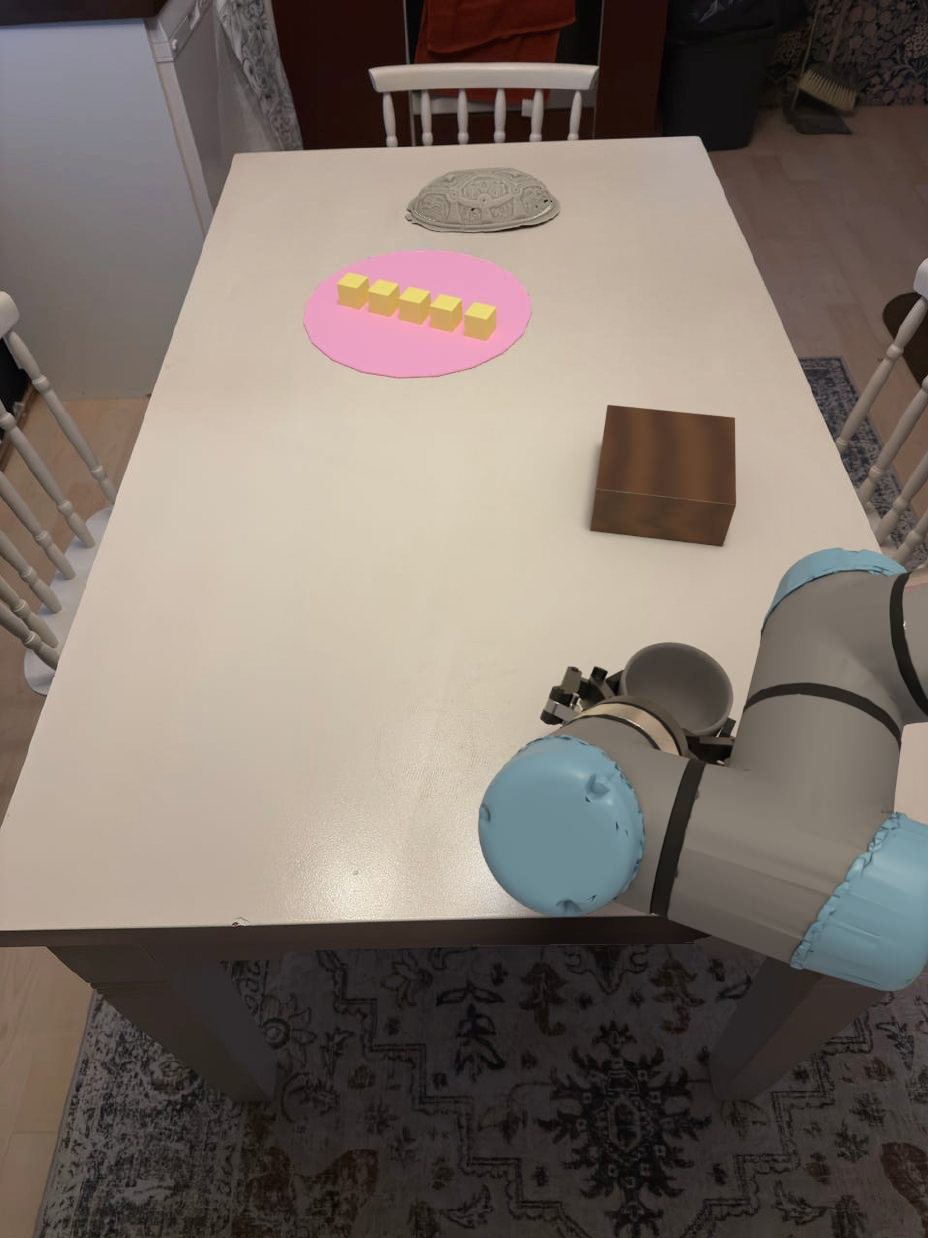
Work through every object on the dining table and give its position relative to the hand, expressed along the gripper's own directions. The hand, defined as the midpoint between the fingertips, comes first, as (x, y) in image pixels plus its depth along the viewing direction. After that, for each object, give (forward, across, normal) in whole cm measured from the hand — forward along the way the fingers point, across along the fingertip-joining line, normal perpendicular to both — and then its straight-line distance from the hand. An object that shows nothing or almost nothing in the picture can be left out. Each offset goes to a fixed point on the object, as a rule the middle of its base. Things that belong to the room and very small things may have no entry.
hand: (671, 709), depth 71 cm
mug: (+1, 0, -5) cm, 5 cm away
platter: (+36, -56, +30) cm, 73 cm away
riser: (+23, -12, +17) cm, 31 cm away
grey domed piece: (+57, -63, +50) cm, 99 cm away
